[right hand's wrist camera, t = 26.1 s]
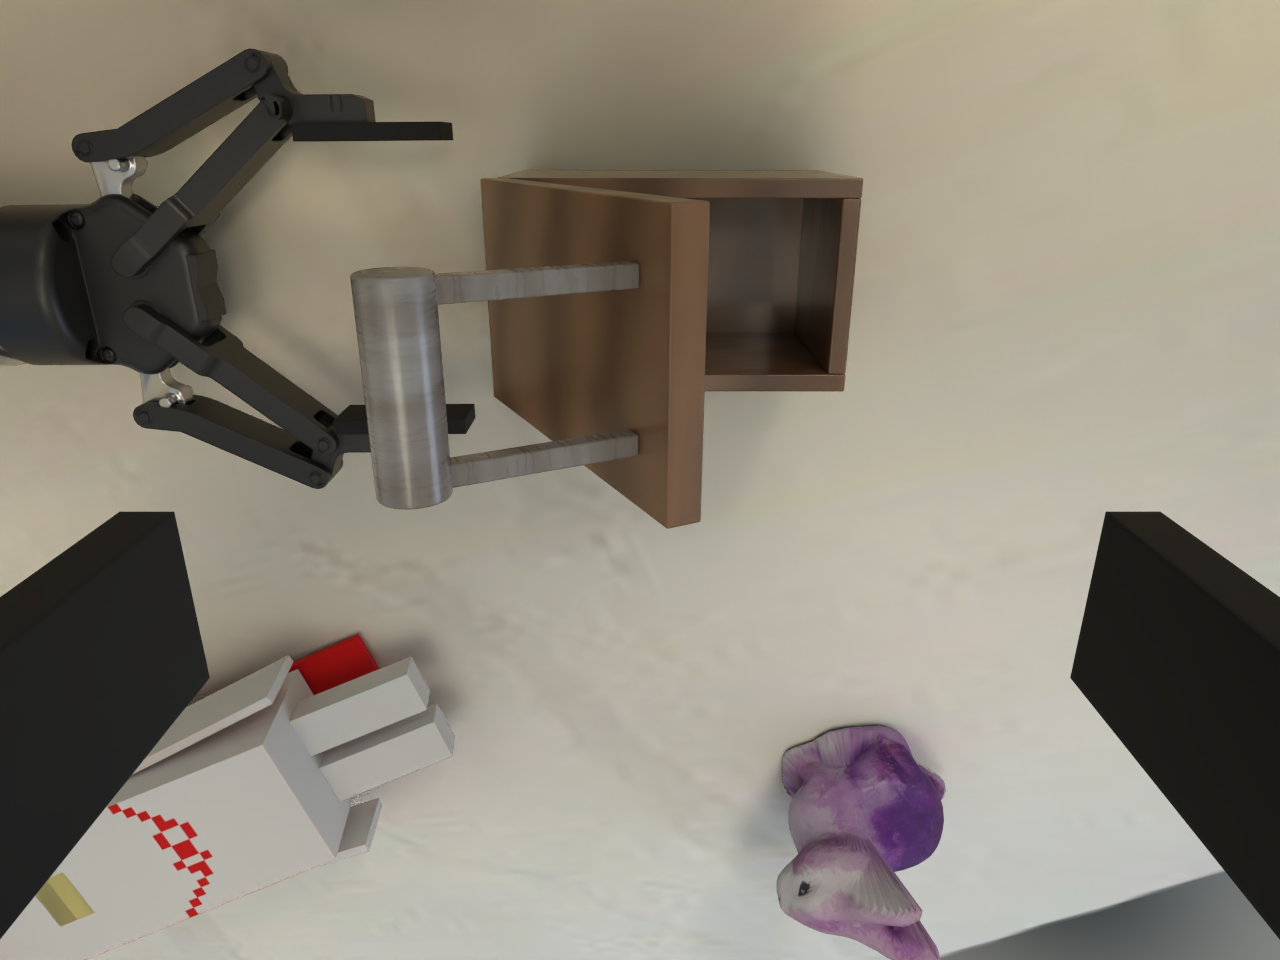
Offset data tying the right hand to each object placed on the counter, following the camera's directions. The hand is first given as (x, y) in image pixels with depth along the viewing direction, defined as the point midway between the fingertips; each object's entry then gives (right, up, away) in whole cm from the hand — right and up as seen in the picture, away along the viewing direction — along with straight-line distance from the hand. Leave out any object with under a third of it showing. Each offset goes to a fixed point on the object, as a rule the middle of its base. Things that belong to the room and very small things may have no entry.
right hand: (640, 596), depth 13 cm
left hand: (-9, +11, +29) cm, 32 cm away
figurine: (+14, -19, +48) cm, 53 cm away
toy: (-27, -16, +47) cm, 56 cm away
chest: (+2, +14, +35) cm, 38 cm away
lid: (-2, +7, +19) cm, 20 cm away
